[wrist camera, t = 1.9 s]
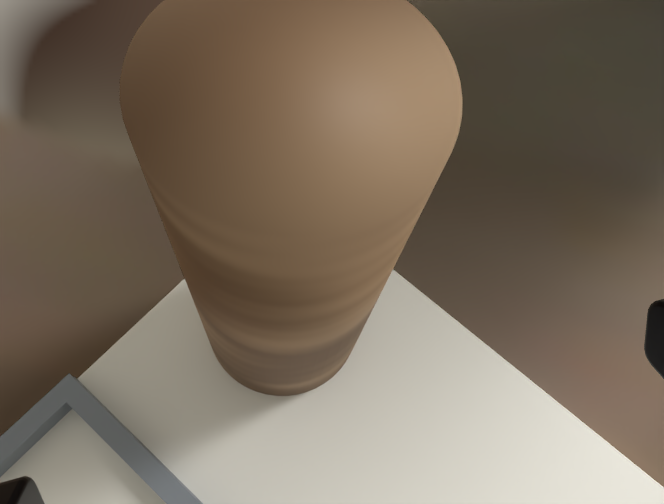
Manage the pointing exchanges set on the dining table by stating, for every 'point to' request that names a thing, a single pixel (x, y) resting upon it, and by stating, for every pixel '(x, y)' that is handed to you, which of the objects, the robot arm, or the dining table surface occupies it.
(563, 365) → the dining table surface
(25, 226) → the dining table surface
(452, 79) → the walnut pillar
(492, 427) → the build plate
